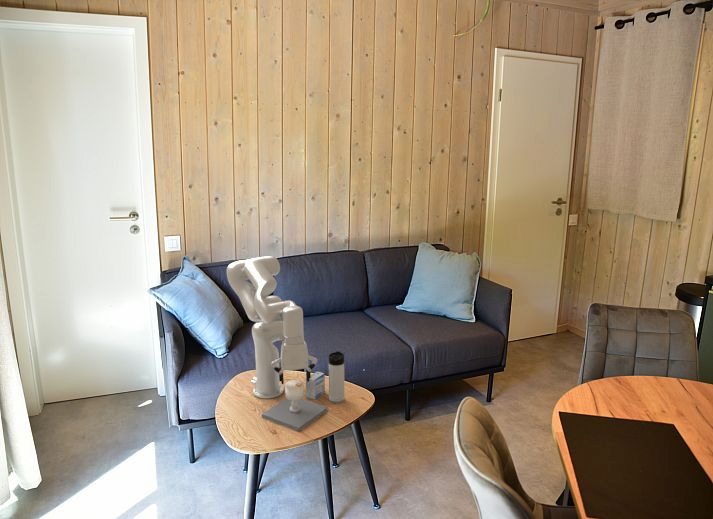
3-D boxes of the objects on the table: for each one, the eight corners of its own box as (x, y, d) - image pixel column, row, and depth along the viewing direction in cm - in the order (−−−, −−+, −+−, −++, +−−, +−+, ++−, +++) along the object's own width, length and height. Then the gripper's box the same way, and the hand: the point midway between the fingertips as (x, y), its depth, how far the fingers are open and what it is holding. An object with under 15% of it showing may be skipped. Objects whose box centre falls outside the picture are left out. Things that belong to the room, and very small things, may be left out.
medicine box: (314, 400, 222) (314, 380, 219) (305, 397, 224) (305, 378, 222) (325, 392, 228) (325, 373, 226) (316, 389, 230) (316, 370, 228)
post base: (261, 417, 208) (261, 400, 206) (292, 398, 223) (291, 382, 221) (298, 431, 198) (298, 413, 197) (327, 410, 213) (327, 393, 211)
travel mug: (346, 397, 224) (346, 351, 219) (342, 405, 218) (342, 358, 213) (331, 395, 225) (331, 350, 221) (327, 403, 219) (326, 356, 214)
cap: (281, 397, 208) (281, 383, 206) (293, 390, 213) (293, 377, 212) (295, 402, 204) (295, 388, 203) (307, 394, 210) (307, 381, 208)
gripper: (270, 344, 198) (272, 388, 201) (317, 340, 201) (319, 383, 205) (269, 337, 205) (271, 379, 209) (315, 333, 208) (316, 375, 212)
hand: (295, 381), depth 207 cm, fingers open, 9 cm apart
